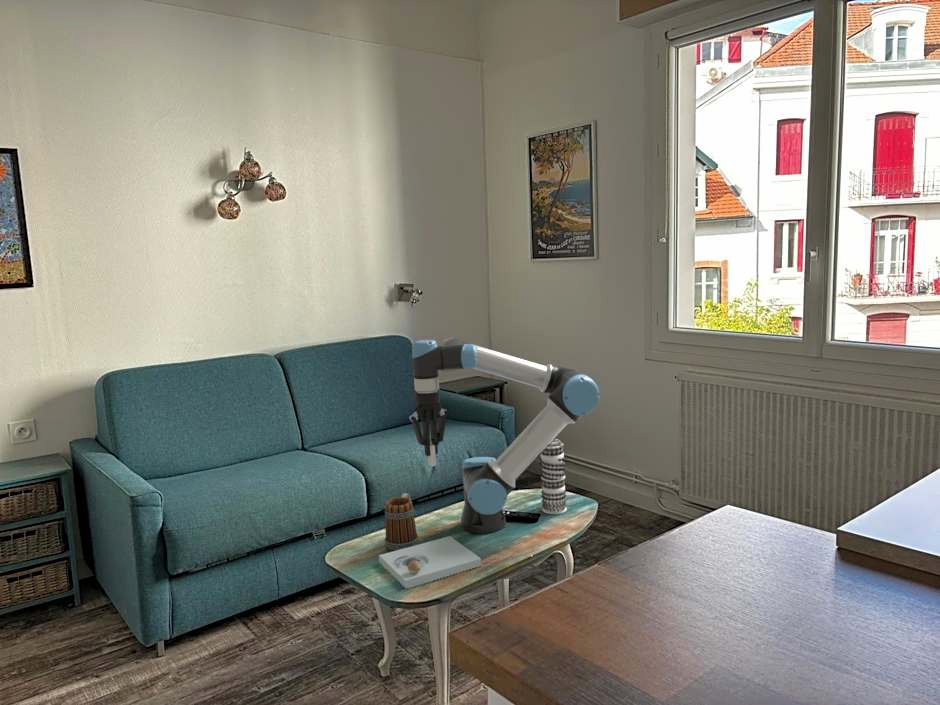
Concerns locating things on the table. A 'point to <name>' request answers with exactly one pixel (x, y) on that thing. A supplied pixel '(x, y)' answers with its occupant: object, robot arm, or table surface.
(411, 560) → the ball
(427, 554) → the white slab
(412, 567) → the cork ball
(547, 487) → the decorative candle
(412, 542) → the mug
